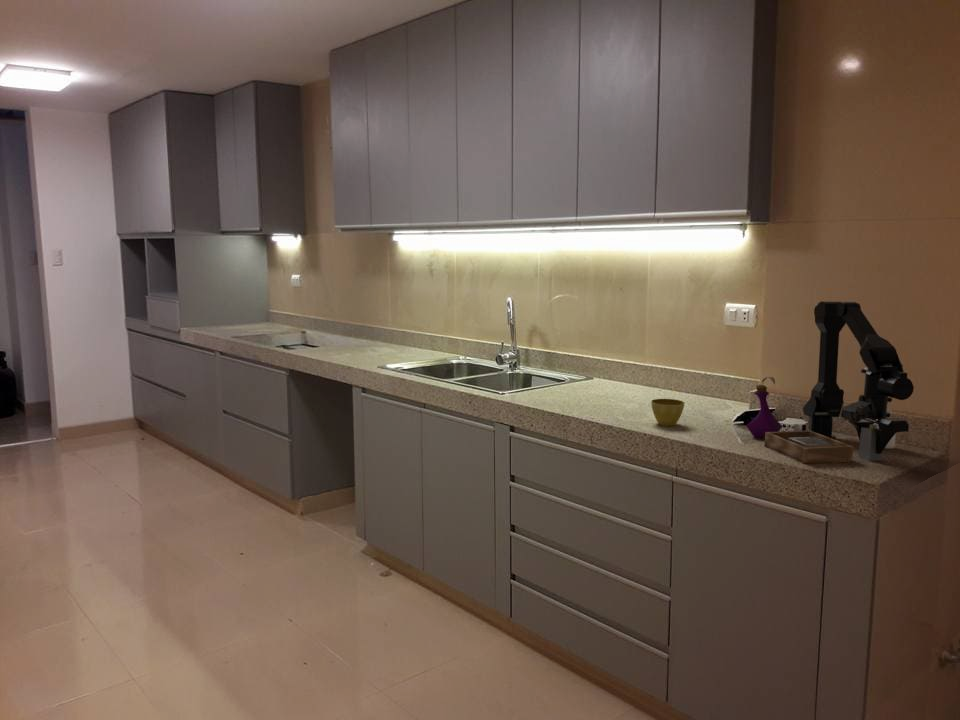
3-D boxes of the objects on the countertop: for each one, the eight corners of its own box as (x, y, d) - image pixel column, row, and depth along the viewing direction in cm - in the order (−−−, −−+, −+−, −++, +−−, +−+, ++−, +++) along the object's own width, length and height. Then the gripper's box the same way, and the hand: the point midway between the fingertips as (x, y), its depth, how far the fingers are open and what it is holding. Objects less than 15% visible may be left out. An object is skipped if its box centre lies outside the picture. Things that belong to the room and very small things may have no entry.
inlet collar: (787, 448, 210) (787, 437, 209) (813, 447, 212) (814, 436, 211) (805, 456, 202) (806, 445, 202) (832, 455, 204) (833, 443, 203)
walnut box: (764, 446, 215) (765, 432, 215) (809, 444, 218) (810, 430, 218) (804, 463, 198) (805, 448, 197) (852, 461, 201) (853, 446, 200)
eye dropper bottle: (891, 450, 213) (895, 407, 211) (869, 446, 216) (873, 404, 215) (896, 447, 216) (900, 405, 214) (874, 444, 220) (878, 402, 218)
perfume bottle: (745, 436, 226) (749, 376, 224) (757, 432, 231) (761, 373, 229) (770, 441, 221) (774, 379, 218) (781, 437, 226) (786, 376, 224)
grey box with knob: (858, 456, 206) (861, 423, 204) (871, 456, 206) (874, 423, 205) (869, 460, 202) (872, 427, 200) (882, 460, 203) (885, 426, 201)
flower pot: (660, 428, 235) (661, 405, 234) (644, 421, 245) (645, 399, 244) (689, 427, 238) (690, 404, 237) (673, 420, 247) (674, 398, 246)
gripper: (825, 387, 209) (821, 443, 211) (874, 400, 191) (869, 461, 193) (861, 386, 211) (857, 441, 214) (913, 399, 193) (907, 460, 195)
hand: (871, 451), depth 204 cm, fingers open, 5 cm apart
